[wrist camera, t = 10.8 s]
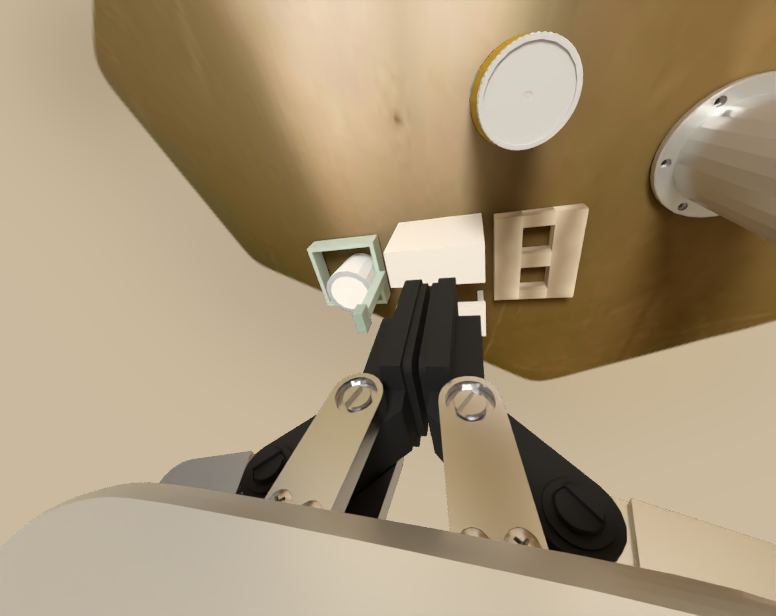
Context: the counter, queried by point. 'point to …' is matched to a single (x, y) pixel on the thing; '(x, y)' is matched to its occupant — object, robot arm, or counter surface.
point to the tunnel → (440, 255)
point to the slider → (378, 288)
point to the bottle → (526, 90)
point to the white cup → (351, 281)
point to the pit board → (538, 252)
